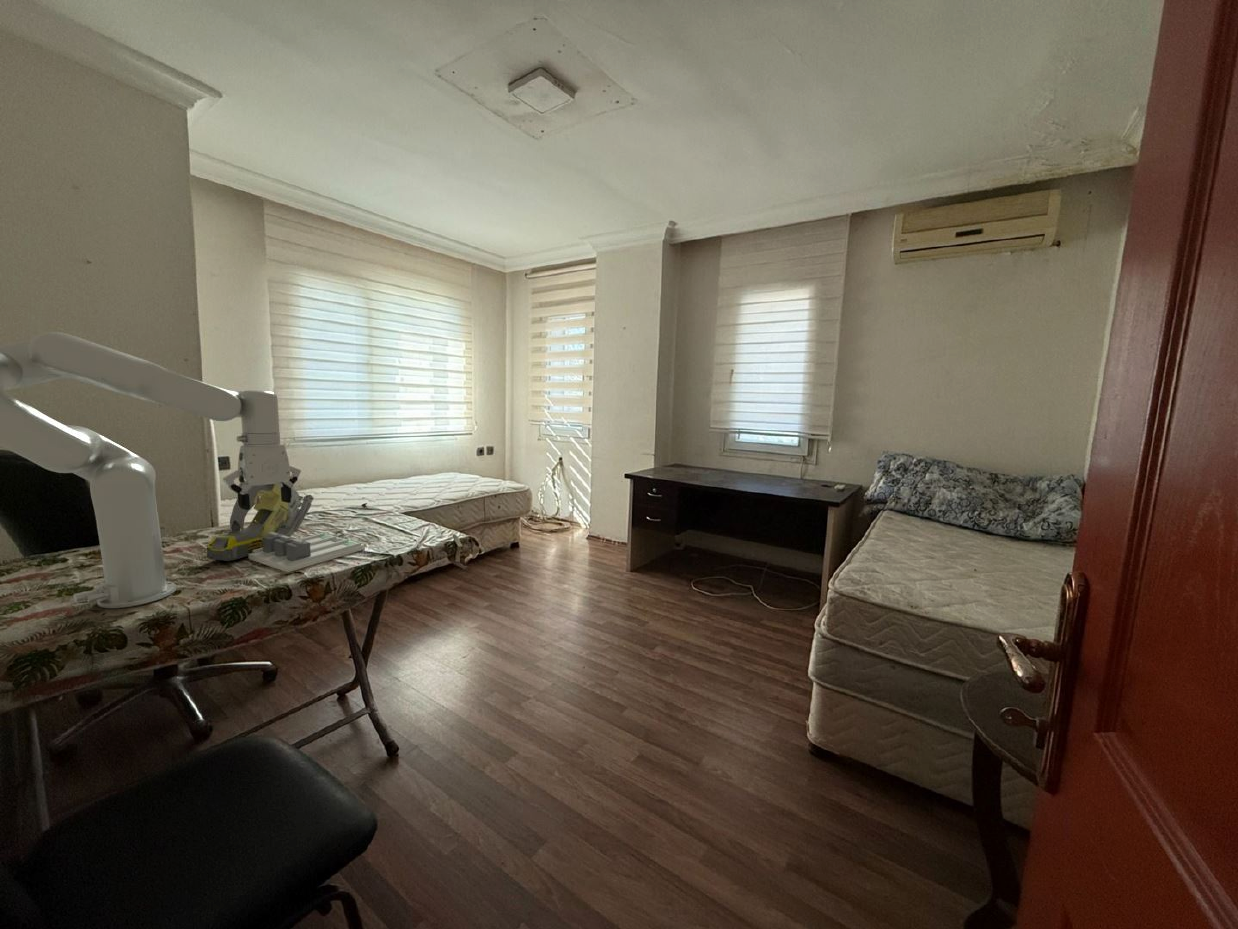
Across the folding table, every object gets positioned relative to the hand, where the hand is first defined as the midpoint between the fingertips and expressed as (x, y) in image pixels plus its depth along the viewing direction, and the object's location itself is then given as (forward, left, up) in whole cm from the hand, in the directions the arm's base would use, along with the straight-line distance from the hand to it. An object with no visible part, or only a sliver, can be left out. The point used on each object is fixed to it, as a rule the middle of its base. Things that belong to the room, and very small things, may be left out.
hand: (266, 505), depth 121 cm
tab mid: (+7, +6, -17) cm, 19 cm away
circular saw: (+11, +25, -18) cm, 33 cm away
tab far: (+7, +12, -17) cm, 21 cm away
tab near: (+7, 0, -17) cm, 18 cm away
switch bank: (+13, +6, -18) cm, 23 cm away
